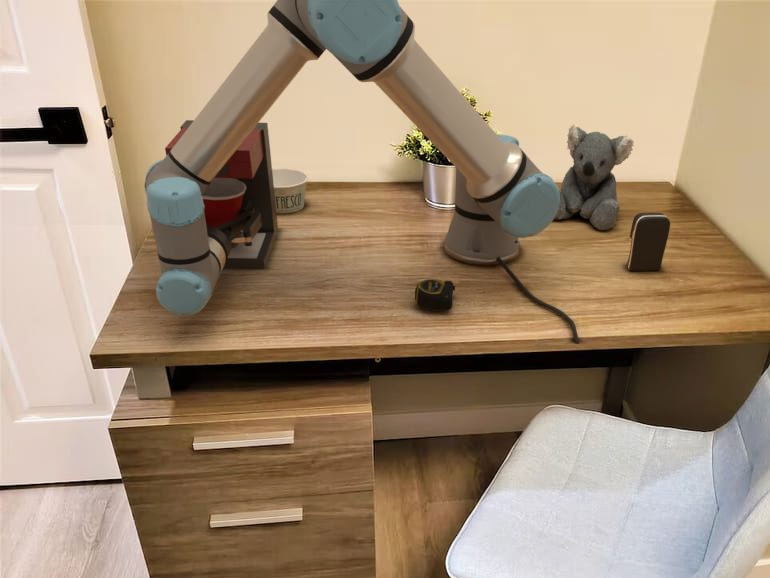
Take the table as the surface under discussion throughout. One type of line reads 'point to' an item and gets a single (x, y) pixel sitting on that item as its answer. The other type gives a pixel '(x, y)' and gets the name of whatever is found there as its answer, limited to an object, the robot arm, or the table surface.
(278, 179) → the food container
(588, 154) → the koala plush
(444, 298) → the tape measure
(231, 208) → the plastic cup
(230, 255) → the coffee maker
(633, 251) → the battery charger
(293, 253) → the table surface
